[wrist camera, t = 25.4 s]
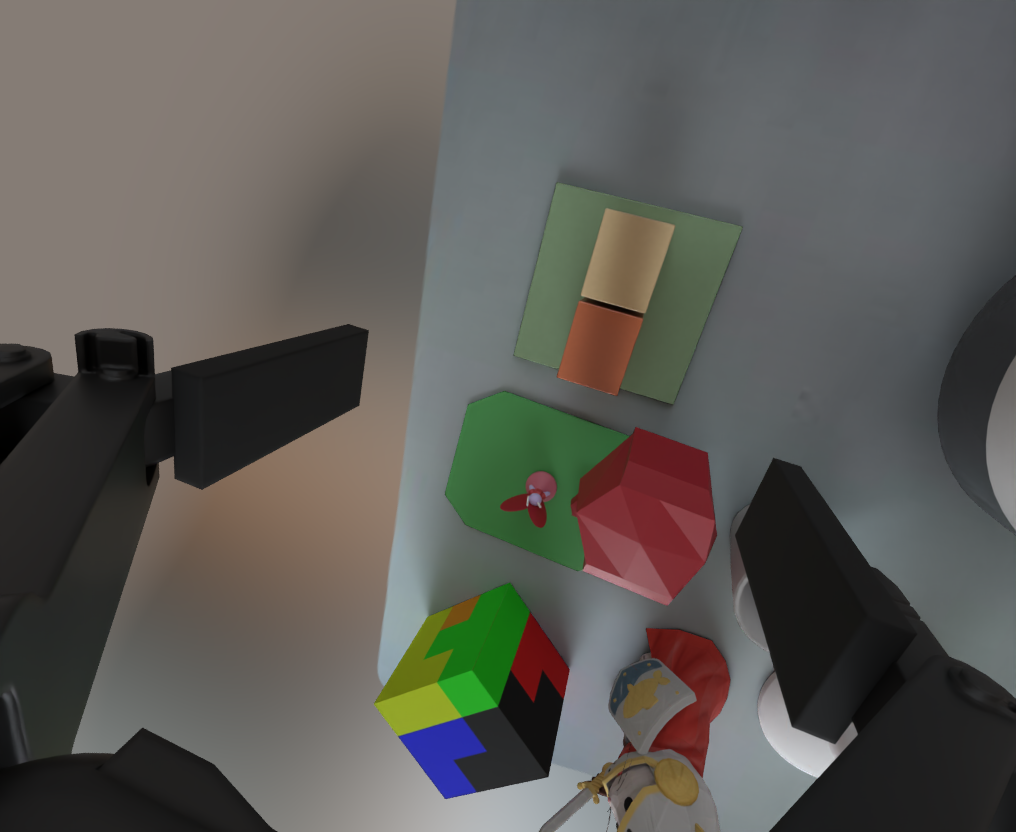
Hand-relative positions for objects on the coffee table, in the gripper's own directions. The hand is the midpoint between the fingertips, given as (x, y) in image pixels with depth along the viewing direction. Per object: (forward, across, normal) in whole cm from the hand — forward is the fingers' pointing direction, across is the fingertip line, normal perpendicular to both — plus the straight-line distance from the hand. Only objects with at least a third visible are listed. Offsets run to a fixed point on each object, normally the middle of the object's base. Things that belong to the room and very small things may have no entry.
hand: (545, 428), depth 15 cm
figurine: (+21, +13, -28) cm, 37 cm away
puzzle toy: (+21, -1, -31) cm, 37 cm away
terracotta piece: (+20, 0, 0) cm, 20 cm away
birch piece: (+20, 0, +5) cm, 21 cm away
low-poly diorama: (+21, +2, -12) cm, 24 cm away
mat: (+21, 0, +2) cm, 21 cm away
